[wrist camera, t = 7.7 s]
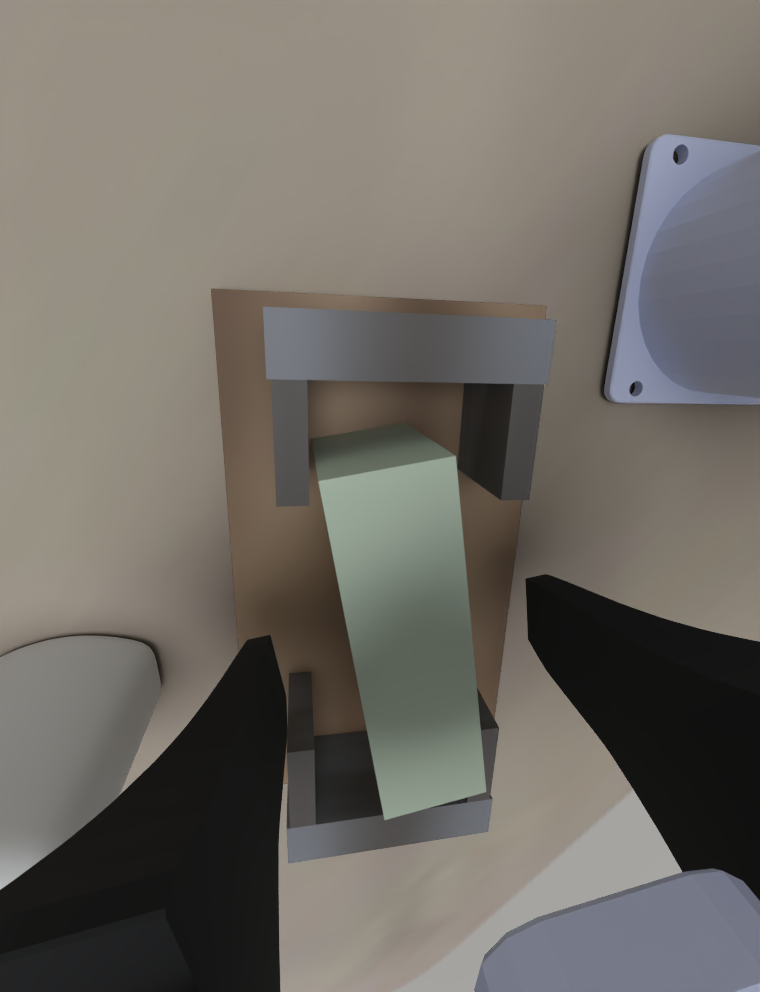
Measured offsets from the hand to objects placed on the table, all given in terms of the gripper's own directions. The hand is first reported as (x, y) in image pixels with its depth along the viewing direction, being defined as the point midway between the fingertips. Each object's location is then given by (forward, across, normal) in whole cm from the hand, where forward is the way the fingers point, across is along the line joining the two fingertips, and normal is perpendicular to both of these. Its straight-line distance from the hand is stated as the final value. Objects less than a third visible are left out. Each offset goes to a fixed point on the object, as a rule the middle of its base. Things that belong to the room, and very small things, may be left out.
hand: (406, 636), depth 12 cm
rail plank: (+4, 0, 0) cm, 4 cm away
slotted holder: (+5, 0, 0) cm, 5 cm away
